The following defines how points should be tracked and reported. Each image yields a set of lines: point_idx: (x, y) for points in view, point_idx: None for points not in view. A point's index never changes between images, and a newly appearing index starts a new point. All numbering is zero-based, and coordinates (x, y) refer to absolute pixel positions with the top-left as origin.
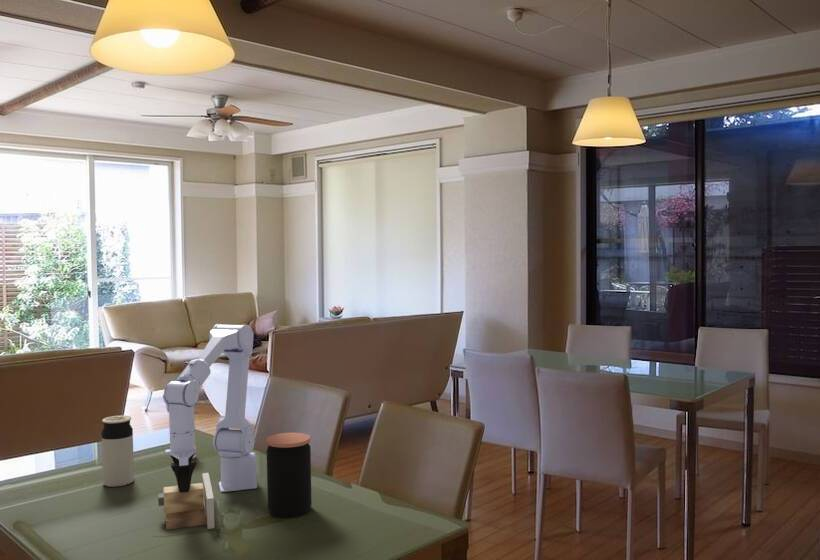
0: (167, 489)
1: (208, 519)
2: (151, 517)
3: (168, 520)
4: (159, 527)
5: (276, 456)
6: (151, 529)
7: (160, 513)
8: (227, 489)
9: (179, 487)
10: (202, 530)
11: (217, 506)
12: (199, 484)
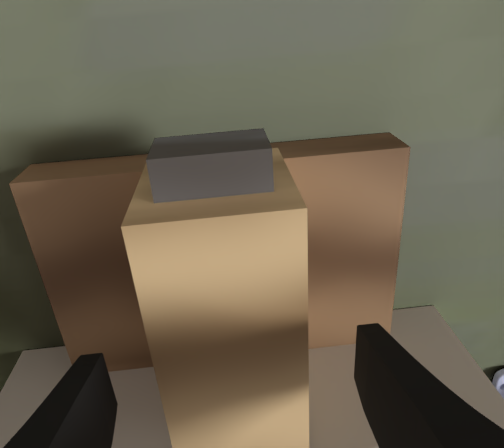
0: (227, 247)
1: (4, 390)
2: (268, 51)
3: (19, 196)
4: (74, 120)
5: None
6: (44, 72)
7: (323, 105)
8: (502, 396)
9: (55, 393)
10: (6, 331)
11: None
12: (278, 437)
